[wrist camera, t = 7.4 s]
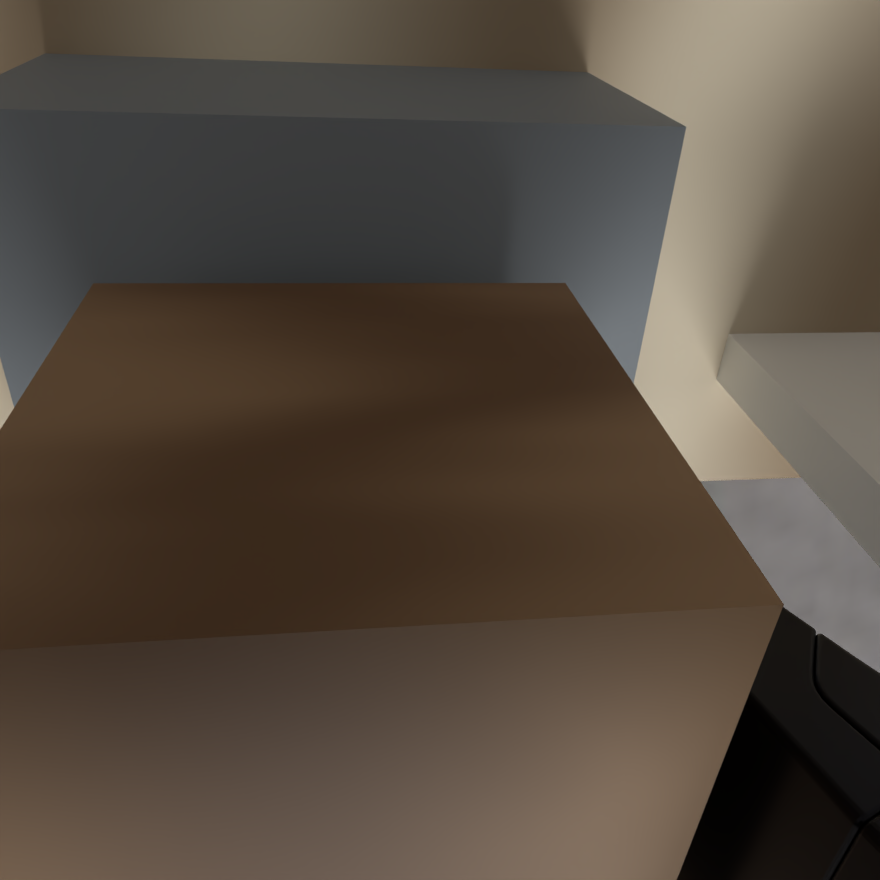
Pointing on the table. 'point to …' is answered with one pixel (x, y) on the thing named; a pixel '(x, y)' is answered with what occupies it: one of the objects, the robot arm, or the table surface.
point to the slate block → (323, 184)
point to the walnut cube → (357, 594)
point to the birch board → (653, 83)
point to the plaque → (817, 414)
